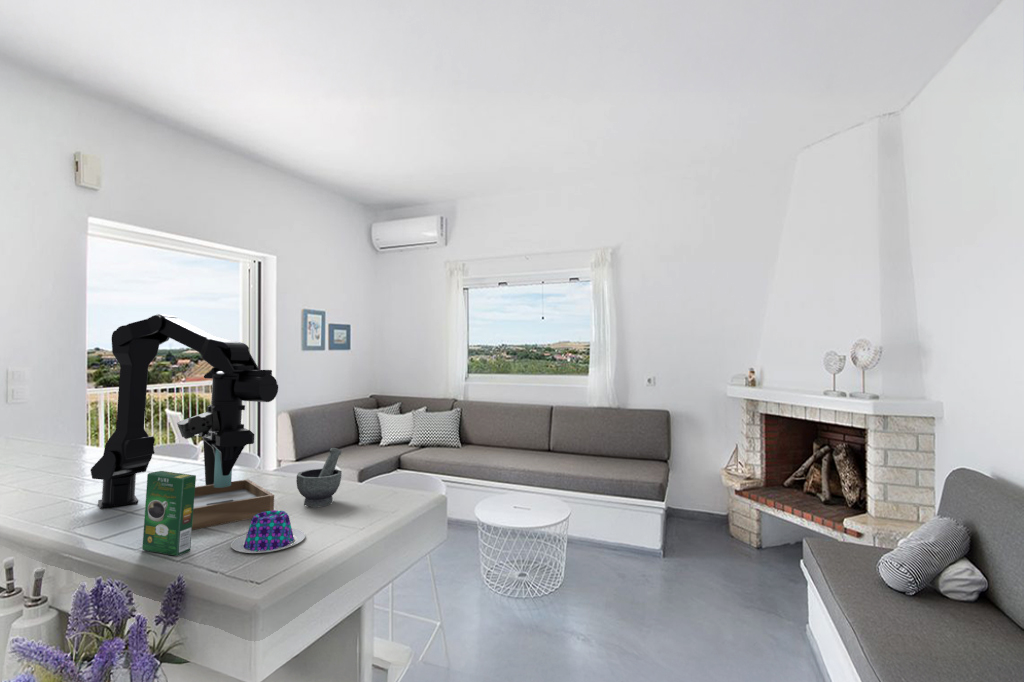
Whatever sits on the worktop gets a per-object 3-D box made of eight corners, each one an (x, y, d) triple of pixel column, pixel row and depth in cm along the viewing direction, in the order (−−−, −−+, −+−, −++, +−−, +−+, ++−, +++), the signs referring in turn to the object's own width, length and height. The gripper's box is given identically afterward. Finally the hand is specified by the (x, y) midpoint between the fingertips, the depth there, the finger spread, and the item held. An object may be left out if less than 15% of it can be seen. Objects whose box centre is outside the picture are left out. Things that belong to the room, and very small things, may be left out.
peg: (211, 485, 101) (213, 447, 102) (228, 483, 104) (230, 445, 104) (215, 488, 99) (217, 449, 99) (233, 486, 101) (234, 448, 102)
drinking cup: (223, 495, 115) (227, 411, 116) (191, 494, 115) (196, 411, 116) (241, 486, 123) (245, 408, 124) (212, 486, 123) (216, 408, 124)
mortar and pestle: (318, 511, 104) (320, 456, 105) (286, 506, 107) (288, 452, 108) (353, 498, 114) (355, 448, 115) (322, 494, 118) (324, 445, 118)
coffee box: (193, 550, 82) (197, 473, 82) (177, 557, 79) (182, 477, 79) (157, 545, 84) (161, 469, 84) (140, 551, 81) (145, 473, 82)
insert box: (166, 509, 103) (167, 490, 104) (247, 496, 115) (248, 479, 115) (184, 531, 91) (185, 510, 91) (273, 514, 102) (274, 495, 102)
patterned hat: (311, 530, 93) (312, 503, 93) (296, 555, 81) (297, 524, 82) (244, 533, 91) (246, 505, 91) (218, 559, 79) (220, 527, 79)
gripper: (173, 398, 103) (168, 471, 103) (192, 405, 90) (188, 489, 89) (231, 396, 111) (227, 464, 110) (256, 403, 98) (253, 480, 97)
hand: (223, 473), depth 102 cm, fingers closed on peg, 3 cm apart
